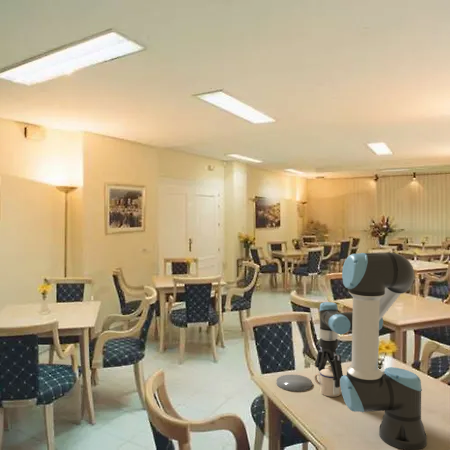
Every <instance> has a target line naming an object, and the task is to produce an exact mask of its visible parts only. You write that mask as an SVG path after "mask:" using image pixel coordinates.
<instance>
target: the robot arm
mask: <svg viewBox="0 0 450 450" xmlns="http://www.w3.org/2000/svg"><path fill="white" fill-rule="evenodd" d="M341 279H342V284H343V286H344V287H345V288H346V289H347V290H348V293H349V295H350V296H351V297H352V311H351V312H339V308H338V304H337V303H336V302H331V301H324V302H321V303H320V304H319V311H318V312H319V337H320V338H319V346H317V356H316V362H315V368H317V369H318V373H320V371H321V370H322V369H326V365H327V362H328V363H329V366H331V369H332V372H333V376H334V379H333V395H337V394H339V387H340V386H341V396H342V397H343V401H344V403H345V406H346V407H347V408H348V409H349V410H350V412H354V413H357V412H358V413H359V412H360V413H365V412H366V413H367V412H383V411H384V412H383V416H382V419H381V423H380V425H379V426H378V435H379V437H380V439H381V440H382V441H383V442H384V443H386V444H388V445H389V446H392V447H394V448H397V449H401V450H422V449H423V448H425V447H426V446H427V444H428V443H427V442H428V441H427V440H428V437H427V433H426V431H425V427H424V424H423V420H422V391H423V389H422V380H421V379H420V377H419V375H417V374H416V373H414V372H413V371H410V370H407V369H404V368H399V367H393V366H391V367H390V366H389V367H386V368H384V369H385V371H384V373H385V374H383V373H382V371H381V370H380V369H379V368H378V366H379V347H380V346H379V345H380V343H379V341H380V340H379V337H380V330H381V329H382V328H383V327H384V326H383V325H384V318H383V317H384V316H385V314H386V313H387V312H388V311H389V309H390V308H391V307H392V306H393V305H394V303H395V302H396V301H397V299H398V298H399V297H400V295H402V294H404V293H407V292H408V291H409V290H410V289H411V287H412V285H413V283H414V280H415V270H414V268H413V265H412V263H411V262H410V261H409V260H408V259H407V258H406V257H405V256H404V255H401V254H399V253H396V252H358V253H352V254H350V255H348V256H347V257H346V259H345V260H344V263H343V266H342V274H341ZM347 332H351V339H352V340H351V364H350V365H349V366H347V368H346V374H343V373H344V372H343V369H342V368H343V367H342V362H341V361H342V360H341V359H342V356H341V354H337V349H338V347H339V343H338V342H339V340H338V337H339V336H338V335H345V334H346V333H347ZM318 376H319V375H318ZM336 376H337V377H336ZM318 380H319V381H318V382H320V383H321V376H319V378H318ZM319 387H321V385H319Z"/></svg>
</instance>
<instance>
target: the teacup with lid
mask: <svg viewBox="0 0 450 450" xmlns="http://www.w3.org/2000/svg"><path fill="white" fill-rule="evenodd" d="M317 376H321V383H320V382H319V381H318V380H319V379H318V378H317ZM336 377H337V376H336ZM333 379H334V376H333V372H332V369H331V365H329V366H328V367H325V369H322V370H321V371H320V373H319V372H318V373H316V374H315V375H314V381H315V382H316V384H317V385H319V386H320V385H321V386H320V393H321V394H322V395H323V396H325V397H331V398H336V397H339V396H340V395H342V392H341V386H340V387H339V394H337V395H333Z"/></svg>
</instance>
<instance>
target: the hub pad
mask: <svg viewBox="0 0 450 450" xmlns="http://www.w3.org/2000/svg"><path fill="white" fill-rule="evenodd" d="M276 385H277V387H278V388H280V389H283V390H285V391H289V392H304V391H308V390H309V389H311V388H312V386H313V381H312V379H310V378H309V377H307V376H305V375H300V374H283V375H280V376H279V377H277V378H276Z"/></svg>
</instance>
